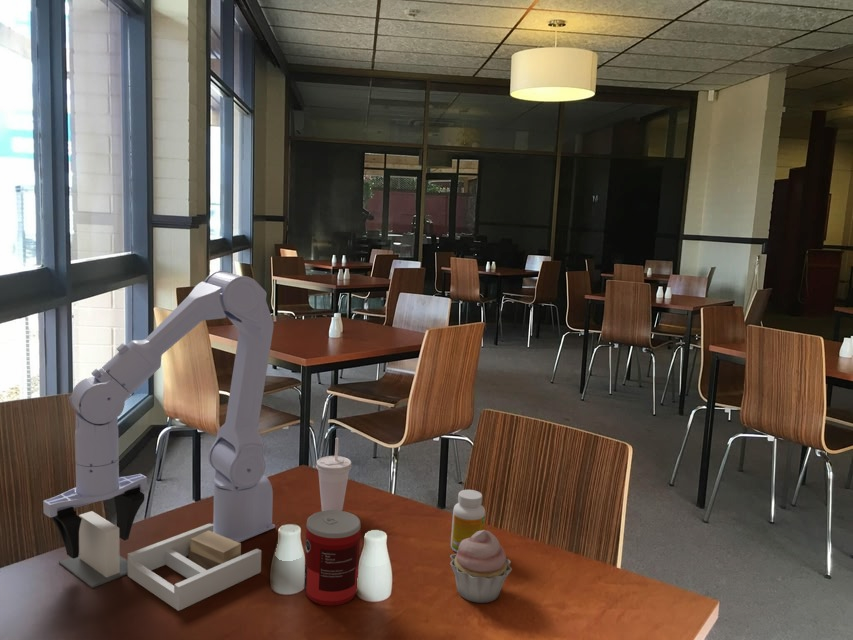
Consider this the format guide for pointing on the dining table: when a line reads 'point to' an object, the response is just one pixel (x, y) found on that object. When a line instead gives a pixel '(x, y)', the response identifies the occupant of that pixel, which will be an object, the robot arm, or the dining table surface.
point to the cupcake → (480, 567)
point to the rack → (188, 570)
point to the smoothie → (333, 480)
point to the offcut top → (215, 547)
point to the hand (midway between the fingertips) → (98, 546)
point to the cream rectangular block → (99, 544)
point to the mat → (92, 571)
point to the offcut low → (202, 560)
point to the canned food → (332, 557)
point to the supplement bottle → (467, 517)
